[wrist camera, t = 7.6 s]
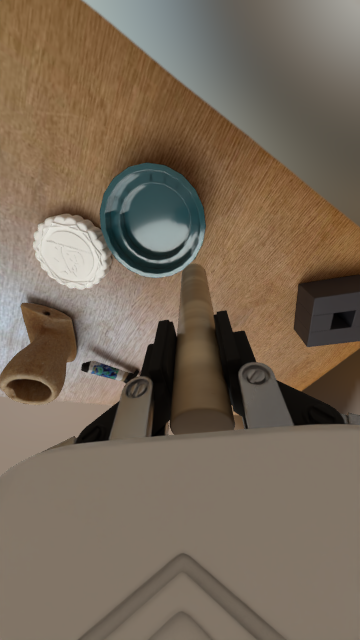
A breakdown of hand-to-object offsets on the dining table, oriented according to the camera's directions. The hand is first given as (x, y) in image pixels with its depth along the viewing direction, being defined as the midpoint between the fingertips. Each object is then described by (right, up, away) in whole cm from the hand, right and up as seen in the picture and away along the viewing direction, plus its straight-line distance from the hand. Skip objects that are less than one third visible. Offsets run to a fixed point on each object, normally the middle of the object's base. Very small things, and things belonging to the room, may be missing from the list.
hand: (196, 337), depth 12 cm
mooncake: (-19, +13, +25) cm, 34 cm away
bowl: (-5, +17, +22) cm, 28 cm away
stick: (0, +6, +9) cm, 11 cm away
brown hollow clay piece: (-28, -2, +35) cm, 45 cm away
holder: (+27, +4, +28) cm, 39 cm away
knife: (-10, -14, +42) cm, 45 cm away
